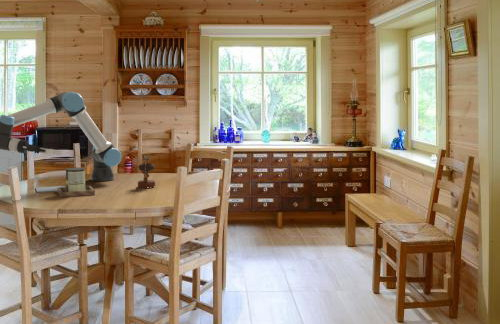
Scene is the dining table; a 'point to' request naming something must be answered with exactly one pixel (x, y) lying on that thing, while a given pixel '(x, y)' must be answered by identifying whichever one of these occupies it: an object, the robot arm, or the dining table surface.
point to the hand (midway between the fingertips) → (56, 152)
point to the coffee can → (75, 179)
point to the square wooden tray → (75, 192)
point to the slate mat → (47, 189)
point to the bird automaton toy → (146, 174)
